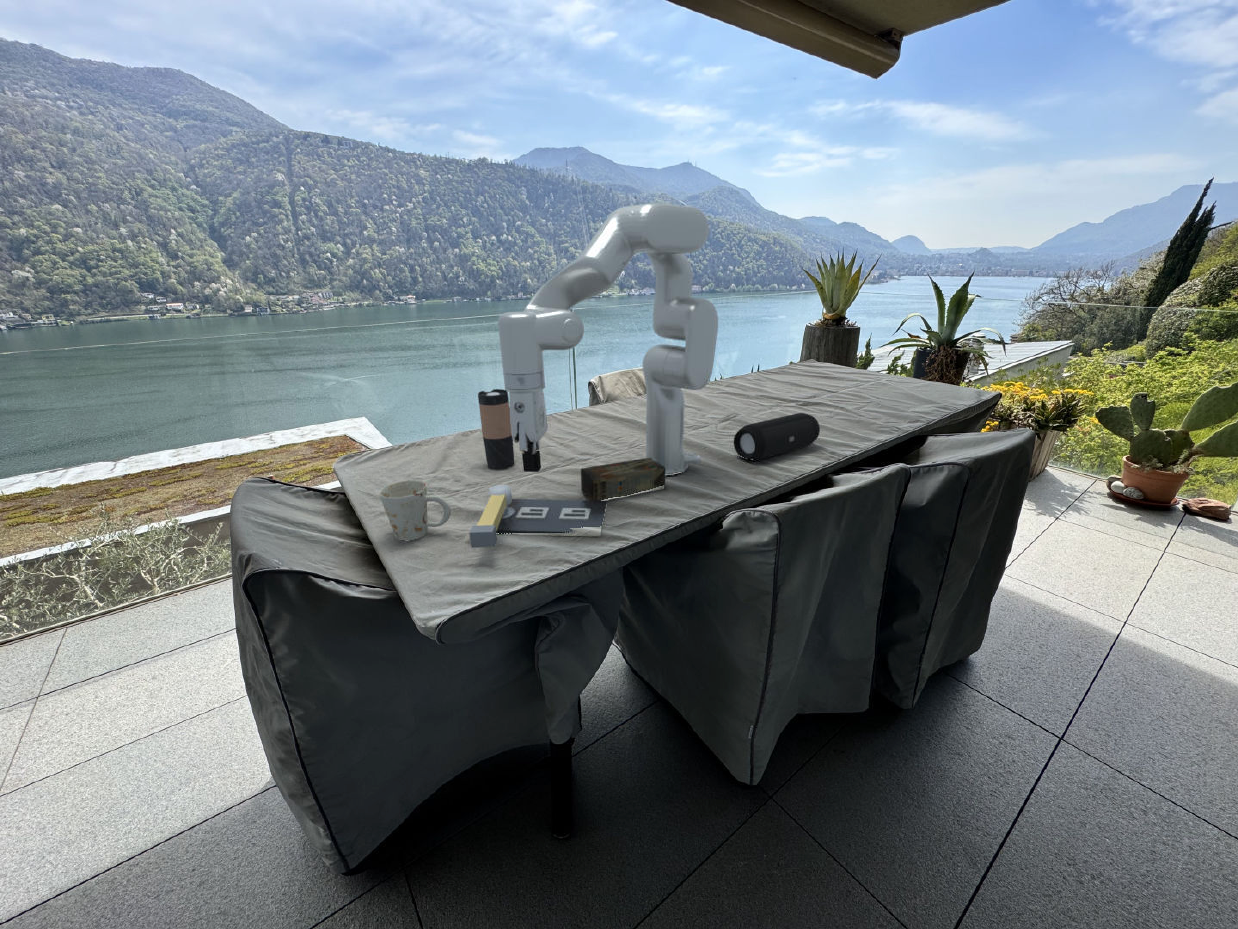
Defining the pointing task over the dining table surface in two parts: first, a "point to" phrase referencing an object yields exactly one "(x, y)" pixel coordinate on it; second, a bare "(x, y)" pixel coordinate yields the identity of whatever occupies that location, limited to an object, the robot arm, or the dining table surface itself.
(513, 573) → the dining table surface
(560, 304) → the robot arm
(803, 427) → the portable speaker
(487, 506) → the swing arm
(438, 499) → the mug
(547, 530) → the chassis
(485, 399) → the travel mug
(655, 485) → the beverage carton
